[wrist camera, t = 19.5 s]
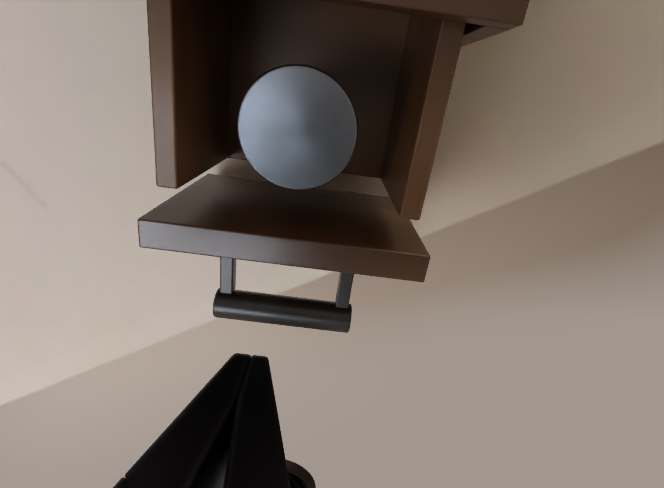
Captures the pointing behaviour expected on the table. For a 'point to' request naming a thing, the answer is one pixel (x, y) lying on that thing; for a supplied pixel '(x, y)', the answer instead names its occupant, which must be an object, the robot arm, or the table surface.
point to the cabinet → (458, 13)
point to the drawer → (274, 201)
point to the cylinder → (297, 127)
